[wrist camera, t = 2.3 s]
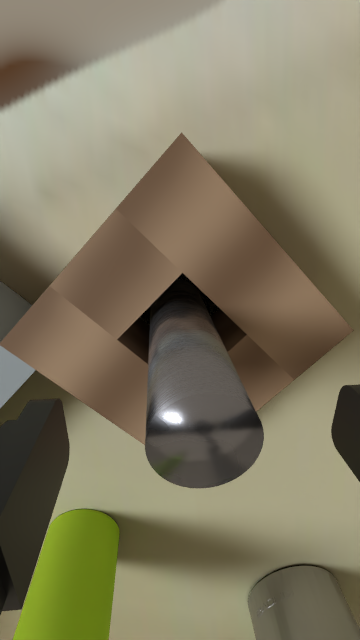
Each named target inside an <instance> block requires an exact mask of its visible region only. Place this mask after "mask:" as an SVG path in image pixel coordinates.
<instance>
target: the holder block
mask: <svg viewBox="0 0 360 640" xmlns="http://www.w3.org/2000/svg"><path fill="white" fill-rule="evenodd" d="M182 273H183V274H184V275H185V276H186V277H188V278H189V279H190V280H191V281H192V282H193V283H194V284H195V285H196V286H197V287H198V288H199V289H200V290H201V291H202V292H203V293H204V294H205V295H206V296H207V297H208V298H209V299H210V300H211V301H213V302H214V303H215V304H216V305H217V306H218V307H219V309H218V310H217V311H216V312H215V313H214V314H213V315H212V316H211V319H212V321H213V323H214V325H215V327H216V329H217V331H218V333H219V335H220V338H221V340H222V342H223V344H224V346H225V348H226V350H227V352H228V354H229V356H230V358H231V361H232V363H233V365H234V367H235V369H236V371H237V373H238V375H239V377H240V379H241V381H242V384H243V386H244V388H245V390H246V392H247V394H248V396H249V398H250V400H251V402H252V404H253V407H254V409H255V411H257V410H259V409H260V408H261V407H262V406H263V405H265V404H266V403H267V402H268V401H269V400H271V399H272V398H273V397H274V396H275V395H277V394H278V393H279V392H280V391H281V390H283V389H284V388H285V387H286V386H287V385H289V384H290V383H291V382H292V381H293V380H295V379H296V378H297V377H298V376H299V375H301V374H302V373H303V372H304V371H305V370H307V369H308V368H309V367H310V366H312V365H313V364H314V363H315V362H316V361H318V360H319V359H320V358H321V357H322V356H324V355H325V354H326V353H327V352H328V351H330V350H331V349H332V348H333V347H334V346H336V345H337V344H338V343H339V342H340V341H342V340H343V339H344V338H345V337H346V336H348V335H349V334H350V333H351V332H352V331H354V330H353V329H352V328H351V327H350V326H349V324H348V323H347V322H346V321H345V320H344V319H343V318H342V316H341V315H340V314H339V313H338V312H337V311H336V310H335V308H334V307H333V306H332V305H331V304H330V303H329V301H328V300H327V299H326V298H325V297H324V296H323V295H322V293H321V292H320V291H319V290H318V289H317V288H316V287H315V285H314V284H313V283H312V282H311V281H310V280H309V278H308V277H307V276H306V275H305V274H304V273H303V272H302V270H301V269H300V268H299V267H298V266H297V265H296V263H295V262H294V261H293V260H292V259H291V258H290V257H289V255H288V254H287V253H286V252H285V251H284V250H283V249H282V247H281V246H280V245H279V244H278V243H277V242H276V240H275V239H274V238H273V237H272V236H271V235H270V234H269V232H268V231H267V230H266V229H265V228H264V227H263V226H262V224H261V223H260V222H259V221H258V220H257V219H256V217H255V216H254V215H253V214H252V213H251V212H250V211H249V209H248V208H247V207H246V206H245V205H244V204H243V203H242V201H241V200H240V199H239V198H238V197H237V196H236V194H235V193H234V192H233V191H232V190H231V189H230V188H229V186H228V185H227V184H226V183H225V182H224V181H223V180H222V178H221V177H220V176H219V175H218V174H217V173H216V171H215V170H214V169H213V168H212V167H211V166H210V165H209V163H208V162H207V161H206V160H205V159H204V158H203V157H202V155H201V154H200V153H199V152H198V151H197V150H196V148H195V147H194V146H193V145H192V144H191V143H190V142H189V140H188V139H187V138H186V137H185V136H184V135H183V134H182V133H181V134H180V135H179V136H178V137H177V139H176V140H175V141H174V142H173V143H172V144H171V146H170V147H169V148H168V149H167V150H166V151H165V152H164V154H163V155H162V156H161V157H160V158H159V159H158V161H157V162H156V163H155V164H154V165H153V166H152V167H151V169H150V170H149V171H148V172H147V173H146V174H145V176H144V177H143V178H142V179H141V180H140V181H139V183H138V184H137V185H136V186H135V187H134V188H133V189H132V191H131V192H130V193H129V194H128V195H127V196H126V198H125V199H124V200H123V201H122V202H121V203H120V205H119V206H118V207H117V208H116V209H115V210H114V211H113V213H112V214H111V215H110V216H109V217H108V218H107V220H106V221H105V222H104V223H103V224H102V225H101V227H100V228H99V229H98V230H97V231H96V232H95V233H94V235H93V236H92V237H91V238H90V239H89V240H88V242H87V243H86V244H85V245H84V246H83V247H82V249H81V250H80V251H79V252H78V253H77V254H76V255H75V257H74V258H73V259H72V260H71V261H70V262H69V264H68V265H67V266H66V267H65V268H64V269H63V271H62V272H61V273H60V274H59V275H58V276H57V277H56V279H55V280H54V281H53V282H52V283H51V284H50V286H49V287H48V288H47V289H46V290H45V291H44V292H43V294H42V295H41V296H40V297H39V298H38V299H37V301H36V302H35V303H34V304H33V305H32V306H31V308H30V309H29V310H28V311H27V312H26V313H25V314H24V316H23V317H22V318H21V319H20V320H19V321H18V323H17V324H16V325H15V326H14V327H13V328H12V330H11V331H10V332H9V333H8V334H7V335H6V336H5V338H4V339H3V340H2V341H1V342H0V346H2V347H3V348H5V349H6V350H7V351H9V352H10V353H12V354H13V355H15V356H16V357H18V358H19V359H21V360H22V361H23V362H25V363H26V364H28V365H29V366H31V367H32V368H34V369H35V370H37V371H38V372H39V373H41V374H42V375H44V376H45V377H47V378H48V379H50V380H51V381H53V382H54V383H55V384H57V385H58V386H60V387H61V388H63V389H64V390H66V391H67V392H69V393H70V394H71V395H73V396H74V397H76V398H77V399H79V400H80V401H82V402H83V403H85V404H86V405H87V406H89V407H90V408H92V409H93V410H95V411H96V412H98V413H99V414H101V415H102V416H103V417H105V418H106V419H108V420H109V421H111V422H112V423H114V424H115V425H117V426H118V427H119V428H121V429H122V430H124V431H125V432H127V433H128V434H130V435H131V436H133V437H134V438H135V439H137V440H138V441H140V442H141V443H143V444H144V445H145V434H146V408H147V383H148V358H149V332H150V326H149V325H148V324H147V323H146V322H144V321H143V320H142V319H141V318H140V316H141V315H142V314H143V313H144V312H145V311H146V310H147V309H148V308H149V307H150V306H151V304H152V303H153V302H154V301H155V300H156V299H157V298H158V297H159V296H160V295H161V294H162V293H163V292H164V291H165V290H166V289H167V288H168V287H169V286H170V285H171V284H172V283H173V282H174V281H175V280H176V279H177V278H178V277H179V276H180V275H181V274H182Z"/></svg>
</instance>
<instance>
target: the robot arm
mask: <svg viewBox="0 0 360 640" xmlns="http://www.w3.org/2000/svg"><path fill="white" fill-rule="evenodd" d="M331 433H332V439H333V443H334V445H335V447H336V449H337V451H338V452H339V454H340V455H341V456H342V458H343V459H344V461H345V462H346V463H347V465H348V466H349V468H350V469H351V470H352V472H353V473H354V475H355V476H356V477H357V479H358V480H359V482H360V385H345V386H343V387H342V388H341V390H340V392H339V396H338V401H337V405H336V410H335V414H334V419H333V423H332V429H331ZM68 460H69V439H68V433H67V427H66V422H65V416H64V410H63V405H62V402H61V400H60V399H44V400H30V401H29V402H28V403H27V404H26V406H25V408H24V409H23V411H22V413H21V414H20V416H19V418H18V419H17V420H10V421H7V422H5V423H4V424H3V425H2V426H1V427H0V615H1V612H2V611H9V610H20V609H22V607H23V603H24V600H25V597H26V594H27V591H28V588H29V585H30V581H31V578H32V575H33V572H34V569H35V566H36V563H37V560H38V556H39V553H40V550H41V547H42V544H43V541H44V538H45V535H46V531H47V528H48V525H49V522H50V519H51V516H52V513H53V509H54V506H55V503H56V500H57V497H58V494H59V491H60V488H61V484H62V481H63V478H64V475H65V472H66V469H67V465H68ZM248 606H249V611H250V615H251V620H252V624H253V628H254V633H255V637H256V640H360V629H359V627H358V624H357V622H356V620H355V618H354V616H353V614H352V612H351V610H350V608H349V606H348V604H347V601H346V599H345V597H344V595H343V593H342V591H341V589H340V587H339V585H338V583H337V580H336V579H335V577H334V576H333V575H332V574H331V573H330V572H328V571H327V570H324V569H322V568H319V567H314V566H296V567H290V568H286V569H282V570H279V571H277V572H274V573H272V574H270V575H268V576H267V577H265V578H263V579H262V580H261V581H260V582H259V583H257V584H256V586H255V587H254V588H253V589H252V591H251V593H250V595H249V598H248Z"/></svg>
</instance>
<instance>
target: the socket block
mask: <svg viewBox="0 0 360 640" xmlns="http://www.w3.org/2000/svg"><path fill="white" fill-rule="evenodd" d="M31 306H32V305H31V304H30V303H29V302H27V301H26V300H25V299H23V298H22V297H21V296H19V295H18V294H17V293H15V292H14V291H13V290H11V289H10V288H9V287H7V286H6V285H5V284H4V283H2V282H1V281H0V342H1V341H2V340H3V339H4V338H5V336H6V335H7V334H8V333H9V332H10V331H11V330H12V328H13V327H14V326H15V325H16V324H17V323H18V321H19V320H20V319H21V318H22V317H23V316H24V314H25V313H26V312H27V311H28V310H29V309H30V308H31ZM34 371H35V369H34V368H32V367H31V366H29V365H28V364H26V363H25V362H23V361H22V360H21V359H19V358H18V357H16V356H15V355H13V354H12V353H10V352H9V351H7V350H6V349H5V348H3V347H2V346H0V408H1V407H2V406H3V405H4V404H5V403H6V402H7V401H8V399H9V398H10V397H11V396H12V395H13V394H14V393H15V392H16V391H17V390H18V389H19V388H20V386H21V385H22V384H23V383H24V382H25V381H26V380H27V379H28V378H29V377H30V376H31V375H32V374H33V372H34Z"/></svg>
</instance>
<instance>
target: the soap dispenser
mask: <svg viewBox="0 0 360 640" xmlns="http://www.w3.org/2000/svg"><path fill="white" fill-rule="evenodd" d="M119 535H120V533H119V528H118V525H117V524H116V522H115V521H114V520H113V519H112V518H111V517H109V516H108V515H106V514H104V513H102V512H99V511H95V510H89V509H78V510H72V511H69V512H66V513H64V514H62V515H60V516H58V517H57V518H56V519H55V520H54V521H53V522H52V523H51V525H50V527H49V529H48V532H47V535H46V538H45V541H44V545H43V548H42V551H41V554H40V557H39V560H38V563H37V566H36V569H35V572H34V575H33V579H32V582H31V585H30V588H29V591H28V594H27V597H26V600H25V603H24V606H23V609H22V613H21V616H20V619H19V622H18V625H17V628H16V631H15V634H14V637H13V640H108V639H109V630H110V620H111V611H112V601H113V592H114V582H115V573H116V564H117V554H118V545H119Z"/></svg>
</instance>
